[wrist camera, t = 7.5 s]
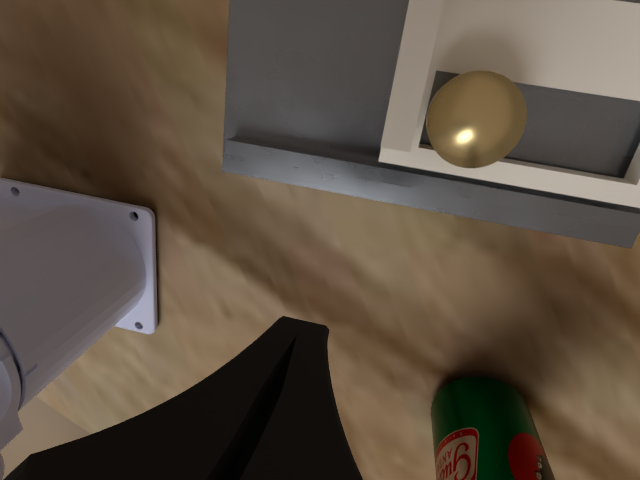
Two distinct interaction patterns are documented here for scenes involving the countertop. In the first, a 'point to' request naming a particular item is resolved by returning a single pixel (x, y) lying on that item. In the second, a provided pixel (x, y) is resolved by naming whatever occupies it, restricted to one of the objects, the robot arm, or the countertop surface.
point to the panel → (516, 76)
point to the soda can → (485, 433)
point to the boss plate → (438, 130)
